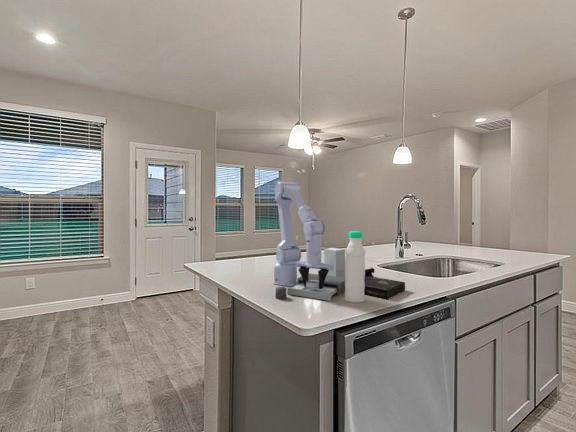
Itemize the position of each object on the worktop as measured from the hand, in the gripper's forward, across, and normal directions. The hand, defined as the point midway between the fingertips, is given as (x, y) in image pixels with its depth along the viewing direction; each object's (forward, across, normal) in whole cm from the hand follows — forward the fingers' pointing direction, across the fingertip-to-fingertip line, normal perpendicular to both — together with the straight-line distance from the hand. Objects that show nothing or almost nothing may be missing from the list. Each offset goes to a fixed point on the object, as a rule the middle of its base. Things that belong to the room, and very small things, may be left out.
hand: (313, 287), depth 122 cm
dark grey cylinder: (+3, -9, -9) cm, 13 cm away
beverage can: (+3, +9, +32) cm, 33 cm away
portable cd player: (+4, +20, +18) cm, 27 cm away
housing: (+3, 0, +10) cm, 10 cm away
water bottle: (+3, +16, +1) cm, 16 cm away
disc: (0, 0, 0) cm, 0 cm away
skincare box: (+3, 0, +24) cm, 24 cm away
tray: (+3, 0, +1) cm, 3 cm away
